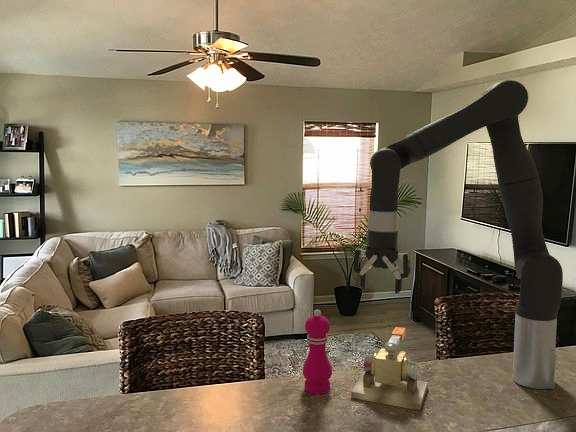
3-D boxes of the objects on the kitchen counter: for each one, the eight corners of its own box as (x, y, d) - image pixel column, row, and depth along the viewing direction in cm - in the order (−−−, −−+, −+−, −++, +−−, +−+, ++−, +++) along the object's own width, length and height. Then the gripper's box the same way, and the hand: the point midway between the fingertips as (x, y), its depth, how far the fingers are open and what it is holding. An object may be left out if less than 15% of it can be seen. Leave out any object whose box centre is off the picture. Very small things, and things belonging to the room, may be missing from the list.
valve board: (427, 387, 123) (427, 370, 122) (420, 410, 112) (420, 391, 111) (363, 377, 129) (363, 360, 129) (351, 397, 118) (351, 379, 118)
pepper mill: (332, 382, 126) (332, 305, 124) (331, 395, 119) (332, 314, 117) (303, 381, 127) (303, 305, 125) (301, 394, 120) (301, 313, 117)
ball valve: (417, 377, 121) (418, 350, 120) (413, 388, 115) (414, 360, 114) (368, 369, 125) (369, 343, 125) (362, 380, 119) (362, 353, 119)
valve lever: (405, 334, 130) (405, 328, 130) (395, 354, 117) (395, 346, 117) (394, 333, 131) (395, 326, 131) (383, 352, 119) (383, 345, 118)
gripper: (414, 228, 127) (411, 290, 128) (360, 224, 133) (358, 284, 135) (407, 232, 120) (405, 298, 122) (351, 228, 126) (349, 290, 128)
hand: (380, 290), depth 128 cm, fingers open, 8 cm apart
